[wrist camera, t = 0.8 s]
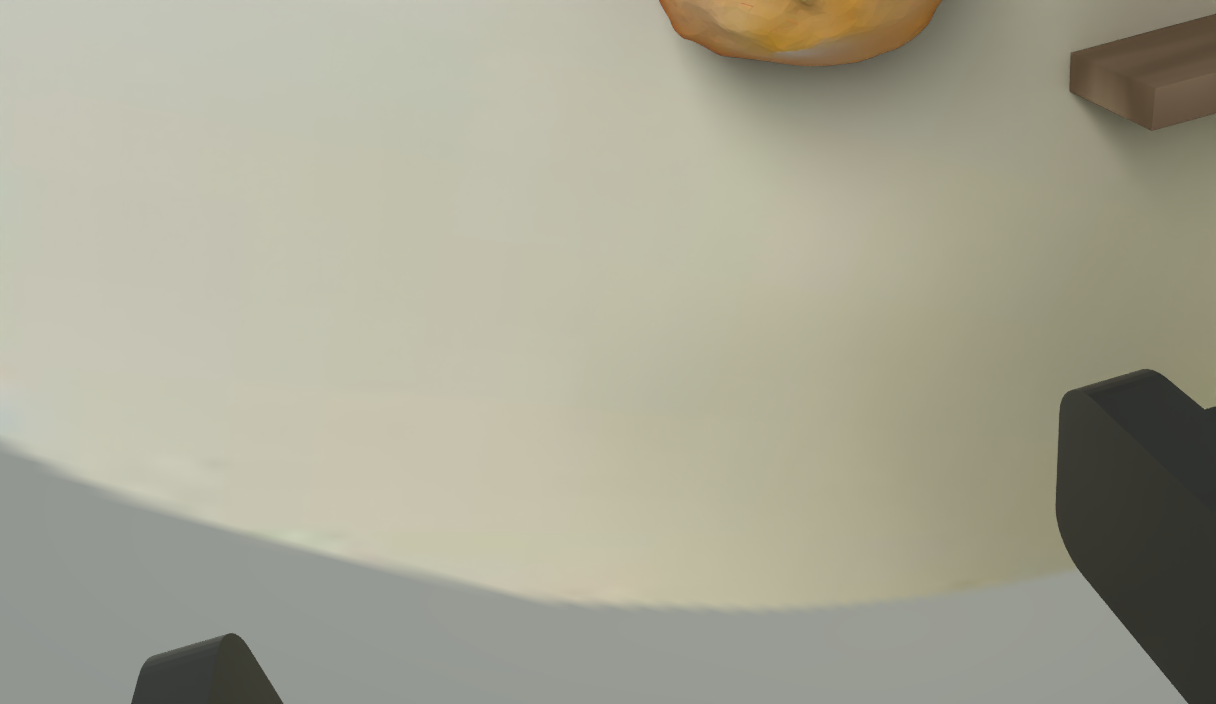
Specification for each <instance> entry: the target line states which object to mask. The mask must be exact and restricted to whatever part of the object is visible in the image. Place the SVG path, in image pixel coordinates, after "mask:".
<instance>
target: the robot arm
mask: <svg viewBox="0 0 1216 704" xmlns="http://www.w3.org/2000/svg"><path fill="white" fill-rule="evenodd" d="M1056 517H1057V522H1058V527H1059V530H1060V533H1061V537H1062V539H1063V542H1064V544H1065V547H1066V549H1067V551H1068V553H1069V555H1070V557H1071V559H1072V560H1073V562H1074V563H1075V565H1076V567H1077V568H1078V569H1079V571H1080V572H1081V573H1082V575H1083V576H1084V577H1085V578H1086V580H1087V581H1088V582H1089V583H1090V584H1091V586H1092V587H1093V588H1094V589H1095V591H1096V592H1097V593H1098V594H1099V595H1100V597H1101V598H1102V599H1103V600H1104V601H1105V603H1106V604H1107V605H1108V606H1109V608H1110V609H1111V610H1112V611H1113V612H1114V614H1115V615H1116V616H1117V617H1118V619H1119V620H1120V621H1121V622H1122V623H1123V624H1124V626H1125V627H1126V628H1127V629H1128V631H1129V632H1130V633H1131V634H1132V635H1133V637H1134V638H1135V639H1136V640H1137V642H1138V643H1139V644H1140V645H1141V647H1142V648H1143V649H1144V650H1145V651H1146V653H1147V654H1148V655H1149V656H1150V657H1151V659H1152V660H1153V661H1154V662H1155V663H1156V665H1157V666H1158V667H1159V668H1160V670H1161V671H1162V672H1163V673H1164V675H1165V676H1166V677H1167V678H1168V679H1169V680H1170V682H1171V683H1172V684H1173V685H1174V687H1175V688H1176V689H1177V690H1178V692H1179V693H1180V694H1181V695H1182V696H1183V698H1184V699H1185V700H1186V701H1187V703H1188V704H1216V407H1212V408H1209V409H1205V410H1204V409H1203V408H1202V407H1201V406H1199V405H1198V404H1197V403H1196V402H1195V401H1193V400H1192V399H1191V398H1190V397H1189V396H1187V395H1186V394H1185V393H1184V392H1183V391H1181V390H1180V389H1179V388H1178V387H1177V386H1175V385H1174V384H1173V383H1172V382H1171V381H1169V380H1168V379H1167V378H1166V377H1164V376H1163V375H1161V374H1160V373H1158V372H1156V371H1154V370H1149V369H1142V370H1139V371H1135V372H1132V373H1129V374H1125V375H1122V376H1118V377H1115V378H1111V379H1108V380H1105V381H1101V382H1098V383H1094V384H1091V385H1087V386H1084V387H1081V388H1077V389H1074V390H1071V391H1068V392H1067V393H1066V394H1065V395H1064V397H1063V398H1062V401H1061V404H1060V413H1059V437H1058V462H1057V486H1056ZM131 704H283V702H282V701H281V699H280V697H279V696H278V694H277V692H276V691H275V689H274V688H273V686H272V684H271V683H270V681H269V680H268V678H267V676H266V675H265V673H264V672H263V670H262V668H261V667H260V665H259V664H258V662H257V660H256V659H255V657H254V655H253V654H252V652H251V650H250V649H249V647H248V646H247V644H246V643H245V642H244V640H242V639H241V637H239V636H238V635H236V634H233V633H230V634H226V635H222V636H219V637H216V638H212V639H209V640H205V641H202V642H199V643H195V644H192V645H188V646H185V647H181V648H178V649H175V650H171V651H168V652H164V653H161V654H157V655H154V656H152V657H150V658H149V659H147V661H146V662H145V663H144V665H143V666H142V668H141V671H140V674H139V677H138V681H137V684H136V688H135V692H134V695H133V699H132V703H131Z"/></svg>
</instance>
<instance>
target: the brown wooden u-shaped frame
mask: <svg viewBox="0 0 1216 704" xmlns="http://www.w3.org/2000/svg"><path fill="white" fill-rule="evenodd" d="M1070 92H1073V93H1075V94H1077V95H1079V96H1081V97H1083V98H1085V99H1087V100H1089V101H1091V102H1093V103H1095V104H1098V105H1100V106H1102V107H1104V108H1106V109H1108V110H1110V111H1112V112H1114V113H1116V114H1118V115H1120V116H1122V117H1125V118H1127V119H1129V120H1131V121H1133V122H1135V123H1137V124H1139V125H1141V126H1143V127H1145V128H1147V129H1150V130H1156V129H1160V128H1163V127H1167V126H1171V125H1174V124H1178V123H1182V122H1185V121H1189V120H1193V119H1196V118H1200V117H1203V116H1207V115H1211V114H1214V113H1216V14H1214V15H1210V16H1206V17H1203V18H1199V19H1195V20H1192V21H1188V22H1184V23H1180V24H1177V25H1173V26H1169V27H1166V28H1162V29H1158V30H1154V31H1151V32H1147V33H1143V34H1140V35H1136V36H1132V37H1128V38H1125V39H1121V40H1117V41H1114V42H1110V43H1106V44H1102V45H1099V46H1095V47H1091V48H1088V49H1084V50H1080V51H1076V52H1073V53H1071V66H1070Z"/></svg>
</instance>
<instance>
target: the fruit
mask: <svg viewBox="0 0 1216 704" xmlns="http://www.w3.org/2000/svg"><path fill="white" fill-rule="evenodd" d="M659 1H660V3H661V5H662V7H663V9H664V11H665V12H666V14H667V16H668V17H669V19H670V21H671V24H672V26H673V28H674V30H675V31H676V32H677V33H678V34H679V35H680V36H681V37H683V38H684V39H688V40H691V41H694V42H696V43H698V44H700V45H702V46H704V47H706V48H707V49H709V50H711V51H713V52H715V53H716V54H719V55H721V56H728V57H737V58H747V59H755V60H762V61H769V62H776V63H783V64H790V65H801V66H828V65H838V64H848V63H855V62H861V61H863V60H866V59H869V58H872V57H874V56H877V55H879V54H882V53H885V52H888V51H891V50H894V49H897V48H899V47H901V46H902V45H904V44H905V43H907V42H909V41H910V40H912V39H913V38H914V37H915V36H917V35H918V34H919V33H920V32H921V31H922V30H923V29H924V28H925V27H926V26H927V25H928V23H929V22H930V20H931V18H932V16H933V14H934V12H935V10H936V8H937V6H938V5H939V4H940V2H941V1H942V0H659Z"/></svg>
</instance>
